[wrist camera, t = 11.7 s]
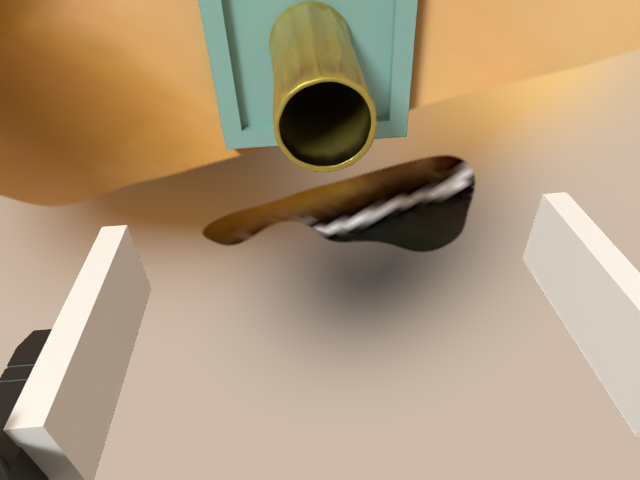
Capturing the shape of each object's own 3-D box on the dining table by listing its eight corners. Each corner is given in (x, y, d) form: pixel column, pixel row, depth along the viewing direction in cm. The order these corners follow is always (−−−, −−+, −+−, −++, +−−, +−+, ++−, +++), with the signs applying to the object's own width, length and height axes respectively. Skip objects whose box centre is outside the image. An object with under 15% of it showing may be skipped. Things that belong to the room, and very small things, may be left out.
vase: (251, 34, 33) (239, 114, 22) (322, -20, 32) (346, 38, 21) (300, 100, 37) (310, 199, 26) (366, 55, 35) (407, 141, 24)
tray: (227, 141, 39) (226, 149, 38) (189, -71, 30) (185, -69, 29) (402, 128, 40) (406, 136, 38) (418, -84, 30) (424, -82, 29)
